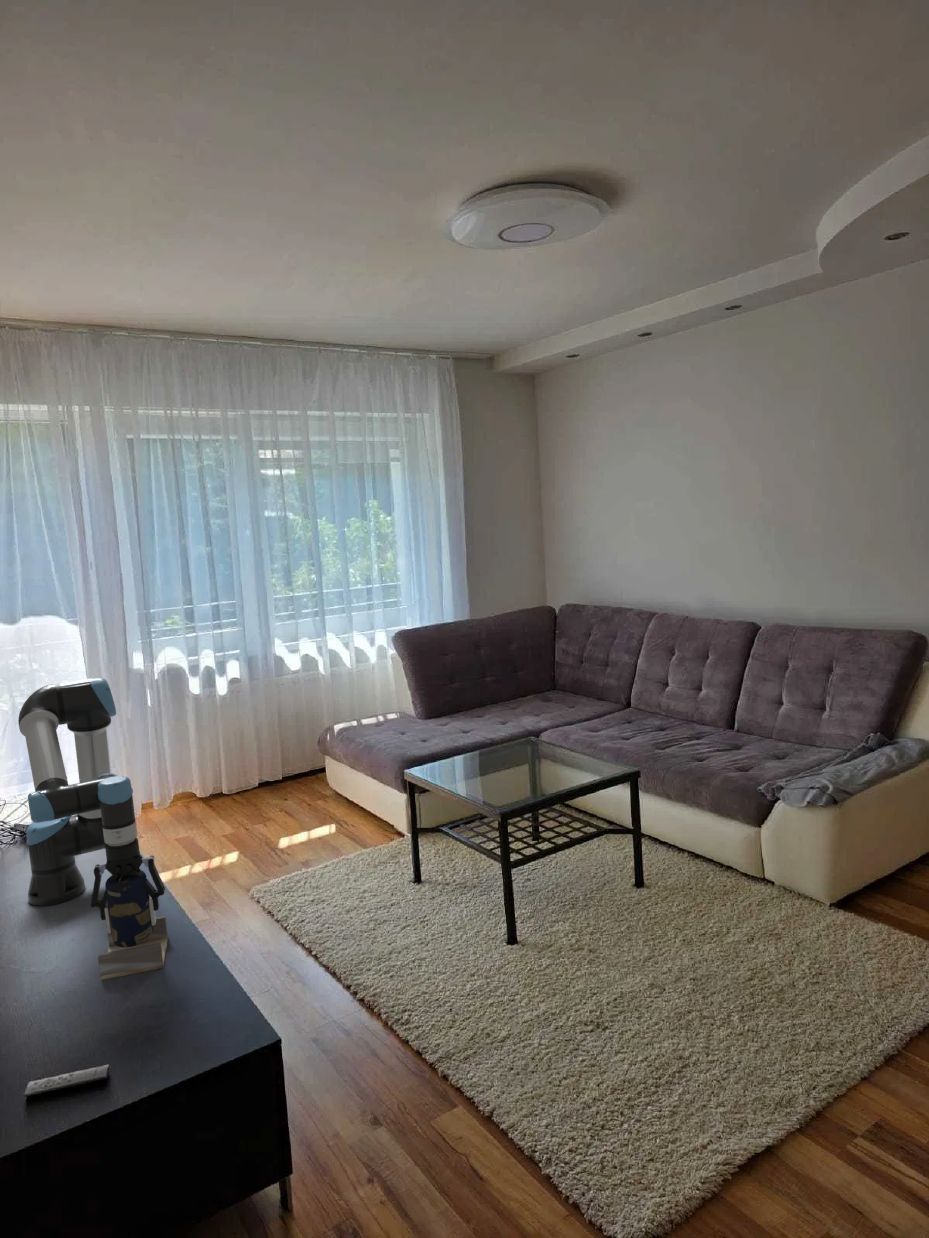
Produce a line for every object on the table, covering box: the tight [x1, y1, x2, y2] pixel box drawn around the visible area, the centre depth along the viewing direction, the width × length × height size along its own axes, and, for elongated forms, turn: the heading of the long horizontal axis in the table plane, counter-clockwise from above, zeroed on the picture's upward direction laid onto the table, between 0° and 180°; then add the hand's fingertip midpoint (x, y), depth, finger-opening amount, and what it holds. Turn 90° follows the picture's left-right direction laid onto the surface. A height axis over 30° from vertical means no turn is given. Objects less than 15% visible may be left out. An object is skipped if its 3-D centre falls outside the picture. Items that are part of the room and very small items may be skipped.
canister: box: [105, 869, 153, 947], centre depth 203 cm, size 10×10×18 cm
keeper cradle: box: [97, 915, 169, 981], centre depth 205 cm, size 15×14×6 cm
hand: (132, 926), depth 204 cm, fingers closed on canister, 9 cm apart
